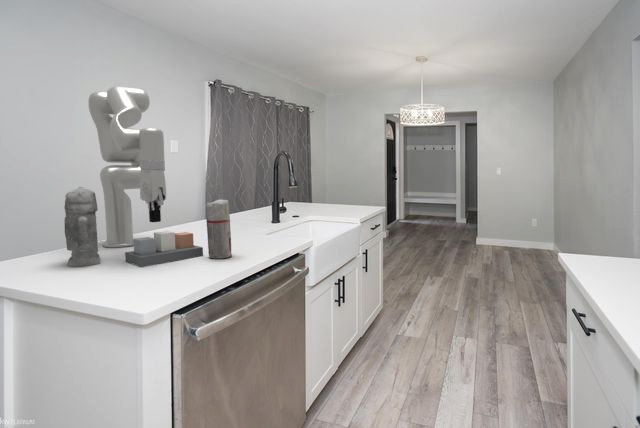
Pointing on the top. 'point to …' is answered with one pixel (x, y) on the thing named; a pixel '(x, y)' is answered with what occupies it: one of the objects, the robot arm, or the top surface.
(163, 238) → the ivory key
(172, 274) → the top surface
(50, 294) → the top surface
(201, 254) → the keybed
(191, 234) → the terracotta key
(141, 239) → the slate key
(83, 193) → the figurine
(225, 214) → the spray can
